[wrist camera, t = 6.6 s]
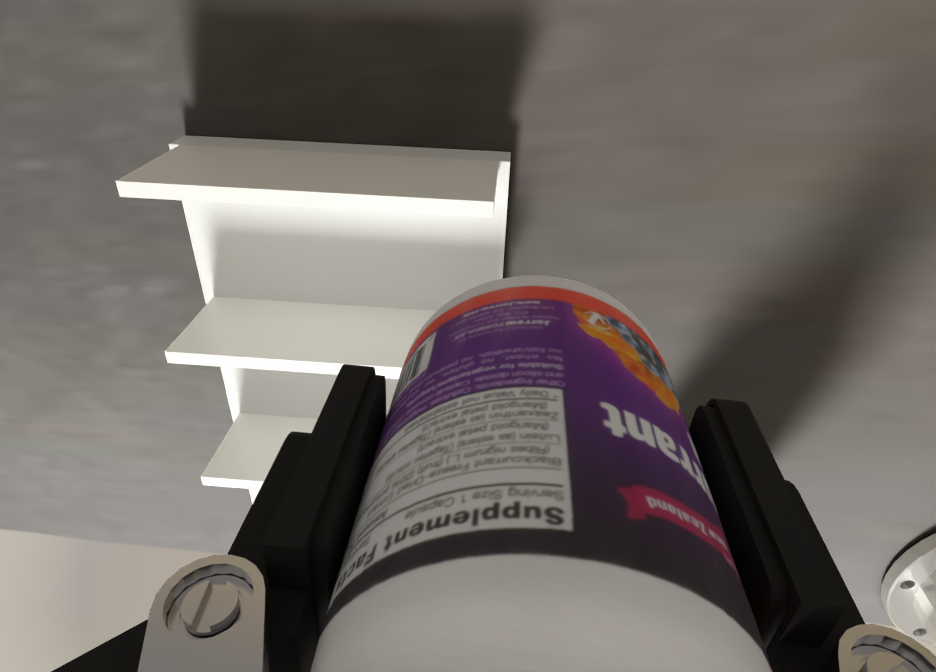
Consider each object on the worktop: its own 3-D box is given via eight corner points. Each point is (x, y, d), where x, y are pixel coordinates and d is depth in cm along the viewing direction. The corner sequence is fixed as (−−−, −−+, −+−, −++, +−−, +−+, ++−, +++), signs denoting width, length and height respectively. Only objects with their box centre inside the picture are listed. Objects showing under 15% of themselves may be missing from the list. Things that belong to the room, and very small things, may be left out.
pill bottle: (695, 436, 13) (977, 1234, 5) (472, 499, 15) (405, 1184, 7) (612, 220, 11) (893, 1080, 3) (356, 324, 12) (20, 1060, 4)
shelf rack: (510, 152, 27) (507, 202, 22) (486, 511, 40) (481, 600, 34) (184, 135, 28) (102, 180, 22) (262, 493, 41) (221, 578, 35)
